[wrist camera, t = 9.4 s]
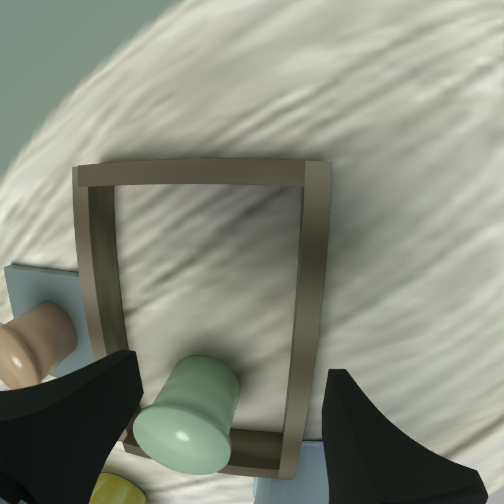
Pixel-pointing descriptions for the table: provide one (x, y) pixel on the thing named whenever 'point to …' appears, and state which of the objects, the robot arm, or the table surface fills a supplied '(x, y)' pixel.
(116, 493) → the plant pot
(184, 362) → the green pot
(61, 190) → the table surface
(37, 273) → the slate slab
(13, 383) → the terracotta pot
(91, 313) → the frame
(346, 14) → the table surface
